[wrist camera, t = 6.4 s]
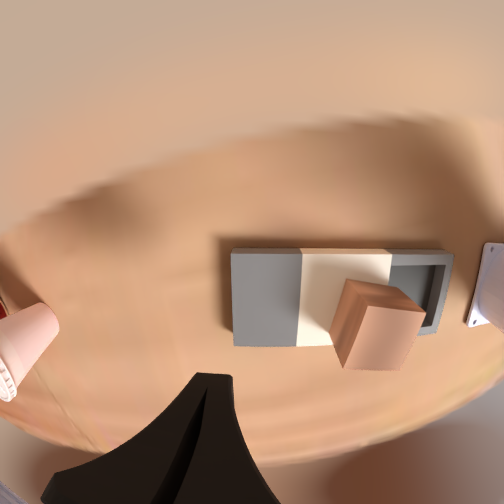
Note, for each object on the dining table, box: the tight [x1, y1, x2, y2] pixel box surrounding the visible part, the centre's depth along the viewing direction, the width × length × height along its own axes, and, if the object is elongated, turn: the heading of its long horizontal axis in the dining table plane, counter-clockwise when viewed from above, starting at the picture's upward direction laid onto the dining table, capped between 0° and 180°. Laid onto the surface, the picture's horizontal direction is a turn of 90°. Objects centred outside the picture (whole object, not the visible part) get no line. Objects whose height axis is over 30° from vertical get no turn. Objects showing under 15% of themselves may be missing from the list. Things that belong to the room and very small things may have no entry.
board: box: [231, 248, 454, 347], centre depth 17 cm, size 16×6×2 cm, turn 90°
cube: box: [329, 279, 426, 371], centre depth 15 cm, size 4×4×4 cm
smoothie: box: [0, 302, 59, 402], centre depth 13 cm, size 6×6×14 cm
